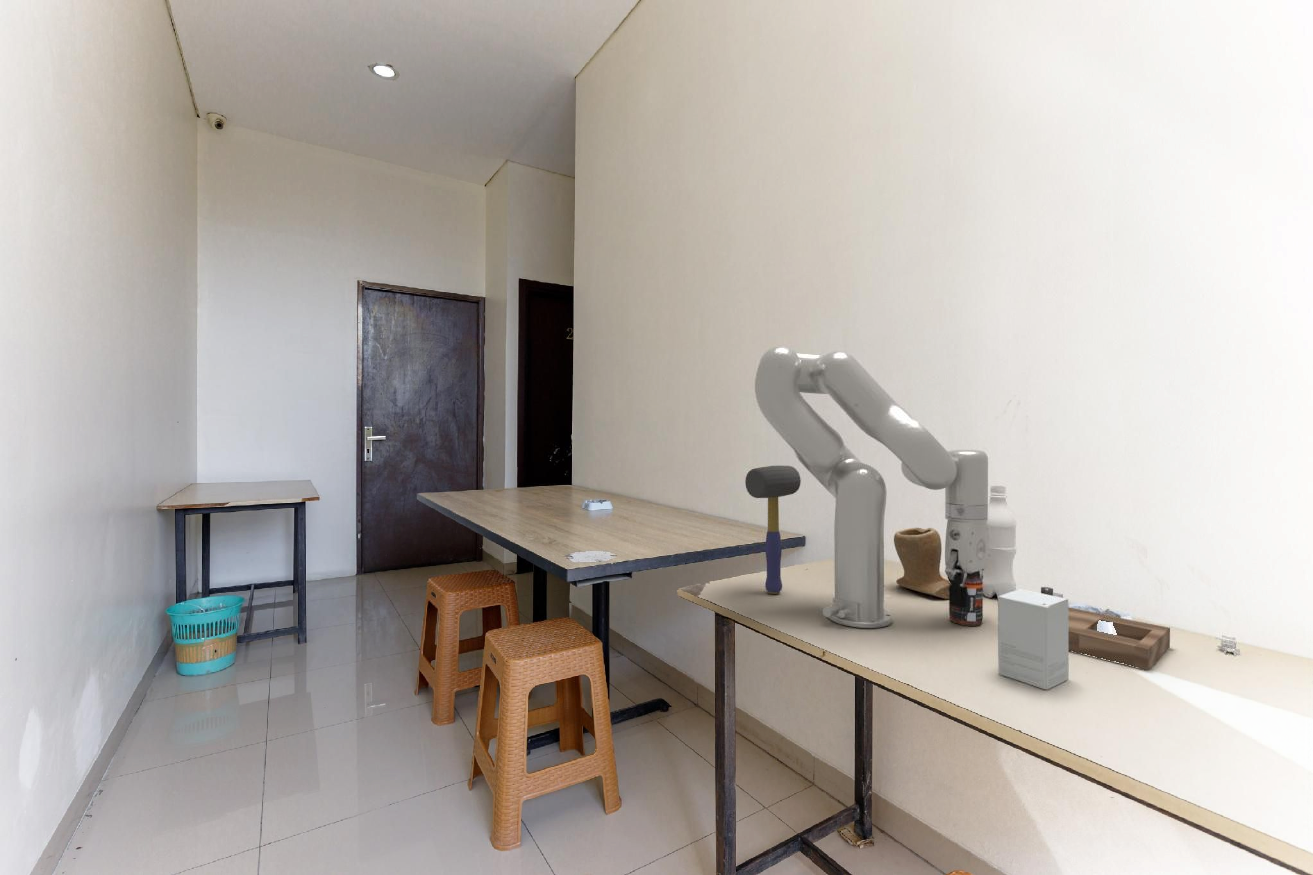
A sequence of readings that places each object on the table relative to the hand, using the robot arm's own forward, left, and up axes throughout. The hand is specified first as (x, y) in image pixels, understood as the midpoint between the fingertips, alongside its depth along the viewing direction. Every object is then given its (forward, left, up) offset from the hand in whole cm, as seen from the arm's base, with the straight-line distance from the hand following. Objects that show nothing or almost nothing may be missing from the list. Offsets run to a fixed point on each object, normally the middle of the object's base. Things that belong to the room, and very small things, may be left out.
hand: (965, 601), depth 119 cm
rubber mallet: (-13, +38, -4) cm, 40 cm away
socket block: (+5, -18, -4) cm, 19 cm away
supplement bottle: (0, 0, -4) cm, 4 cm away
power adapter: (+16, -36, -5) cm, 39 cm away
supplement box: (-18, -18, -4) cm, 26 cm away
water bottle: (+23, +3, -4) cm, 24 cm away
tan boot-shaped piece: (+14, +15, -4) cm, 21 cm away
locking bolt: (+10, -11, 0) cm, 15 cm away
